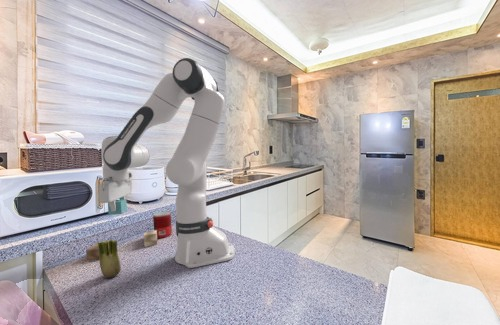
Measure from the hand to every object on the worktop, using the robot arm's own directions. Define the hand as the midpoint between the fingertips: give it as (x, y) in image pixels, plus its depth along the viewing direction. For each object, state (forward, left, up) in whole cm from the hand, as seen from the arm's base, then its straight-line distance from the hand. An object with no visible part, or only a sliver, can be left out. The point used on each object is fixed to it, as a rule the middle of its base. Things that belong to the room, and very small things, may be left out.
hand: (117, 208), depth 92 cm
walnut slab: (+6, +3, -18) cm, 19 cm away
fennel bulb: (-6, +21, -18) cm, 28 cm away
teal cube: (0, 0, -2) cm, 2 cm away
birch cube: (-11, -4, -18) cm, 21 cm away
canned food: (-14, -13, -18) cm, 26 cm away
